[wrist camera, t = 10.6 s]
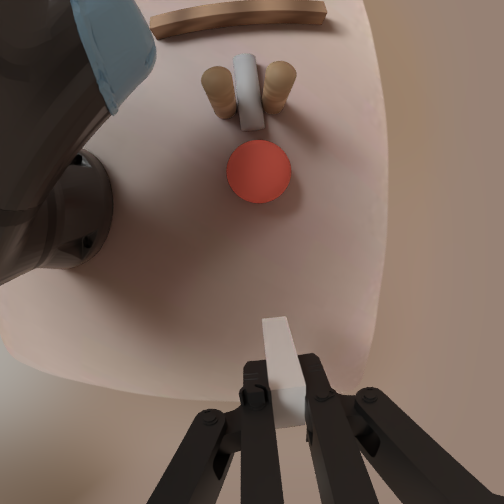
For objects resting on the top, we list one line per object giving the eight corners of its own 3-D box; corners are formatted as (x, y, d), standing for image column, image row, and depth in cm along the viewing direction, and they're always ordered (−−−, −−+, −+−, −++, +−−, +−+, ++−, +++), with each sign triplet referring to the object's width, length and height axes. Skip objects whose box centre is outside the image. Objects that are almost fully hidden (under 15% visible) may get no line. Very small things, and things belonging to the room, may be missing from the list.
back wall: (157, 39, 24) (149, 28, 21) (157, 28, 23) (150, 17, 20) (321, 24, 23) (327, 12, 20) (318, 13, 23) (323, 1, 20)
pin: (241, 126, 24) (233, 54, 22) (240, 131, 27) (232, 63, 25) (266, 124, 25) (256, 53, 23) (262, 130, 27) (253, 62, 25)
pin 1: (215, 120, 26) (202, 94, 18) (213, 100, 26) (200, 68, 18) (237, 117, 26) (233, 89, 18) (235, 97, 26) (230, 64, 17)
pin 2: (262, 115, 26) (267, 86, 18) (260, 95, 26) (264, 61, 17) (285, 113, 26) (298, 85, 18) (282, 94, 26) (294, 60, 17)
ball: (223, 139, 26) (230, 193, 29) (221, 150, 21) (231, 217, 24) (282, 133, 26) (286, 187, 29) (295, 143, 21) (298, 209, 24)
